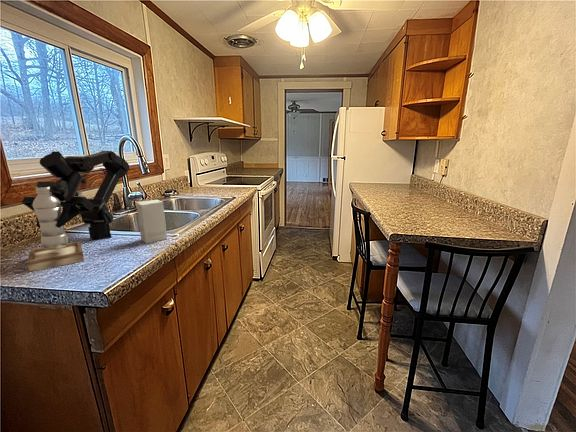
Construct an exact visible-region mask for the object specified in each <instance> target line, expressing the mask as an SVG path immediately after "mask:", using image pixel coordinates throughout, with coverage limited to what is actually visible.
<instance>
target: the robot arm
mask: <svg viewBox="0 0 576 432" xmlns="http://www.w3.org/2000/svg"><path fill="white" fill-rule="evenodd" d="M101 164H102V166H103V167H104V169H105V173H106V174H105V176H104V178H103V180H102V182H101V184H100V185H99V187H98V189H97V191H96V193H95V194H94V197H93V198H87V197H86V196H79V195H80V193H79V192H78V189H79V187H80V186H81V184H84V185H85V184H87V181H86V179H85V177H84V175H82V174H88V173H90V172H92V171H93V170H94V169H95V167H96V166H98V165H99V166H100V165H101ZM39 165H40V166H41V167H43V169H44V170H45V171H46V172H48V173H49V174H51V176H52V177H53V178H56V179H58V180H56V181H37V182H36V187H38V188H43V187H50V192H52V194H53V195H54V196H55V197H57V198H58V199H59V201H60V202H61V208H62V210H61V215H60V218H59V220H58V222H57V227H58V228H60V227H62V226H63V227H64V226H65V224H67V223H68V222H70V221H71V220H72V219H74V218H75V217H77V216H80V217H81V219H82V222H83V223H84V225H87V224H88V225H89V226H88V228H87V229H88V233H89V238H90V239H91V240H92V241H98V240H102V239H111V238H112V237H113V236H112V233H111V227H110V223H112V222H113V221H114V214H112V213H111V212H110V208H109V205H108V203H109V201H110V198H111V197H112V194H113V192H114V191H115V188H116V186H117V184H118V182H119V180H120V179H122V178H124V177H126V175H127V174H128V173H129V170H130V165H129V163H128V162H127V161H126V160H125V159H124V157H121V156H120V155H118V154H116V153H115V152H114V151H112V150H101V151H99V152H95V153H91V154H88V155H84V156H73V155H72V156H71V155H70V156H66V157H64V156H63V155H62V153H61V152H60V151H56V150H55V151H51V153H48V154H46V155H44V156H43V157H41V158H40V160H39ZM36 197H37V195H33V196H32V195H27V196H24V198H23V199H22V201H21V204H22V205H24V206H26V207H27V208H28V209H30V210H31V211H32V212H35V211H34V208H33V201H34V199H35V198H36ZM36 227H37V228H40V224H39V221H38V218H37V217H36Z"/></svg>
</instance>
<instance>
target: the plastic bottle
mask: <svg viewBox="0 0 576 432" xmlns="http://www.w3.org/2000/svg"><path fill="white" fill-rule="evenodd" d="M35 194H37V195H36V196H37V197H36V198H35V199H34V201H33V208H34V211H33V212H34V213H35V215H36V219H37V218H38V221H39V224H40V229H39V231H40V235H41V236H40V243H41V246H42V247H44V248H45V249H48V250H52V249H59V248H62V247H65V246H67V244H68V243H69V236H68V234H67V232H66V230H65V228H64V225H63V226H62V227H60V228H58V227H57V222H58V220H59V218H60V215H61V213H62V207H61V202H60V201H59V199H58V198H57V197H55V196H54V195H53V194H52V192H50V187H43V188H38V187H37V186H35Z"/></svg>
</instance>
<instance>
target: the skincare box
mask: <svg viewBox="0 0 576 432" xmlns="http://www.w3.org/2000/svg"><path fill="white" fill-rule="evenodd" d="M135 204H136V212H137V219H138V227H139V234H140V240H141V241H142V242H144V244H150V243H151V244H152V243H155V242H160V241H164V240H167V239H168V234H167V225H166V219H165V217H166V215H165V209H164V208H165V207H164V201H162V200H159V199H151V200H143V201H136V203H135Z"/></svg>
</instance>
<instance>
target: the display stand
mask: <svg viewBox="0 0 576 432" xmlns="http://www.w3.org/2000/svg"><path fill="white" fill-rule="evenodd" d="M84 261H85V257H84V251H83V248H82V242H81V241H75V242H68V244H67V246H65V247H62V248H59V249H52V250H48V249H45V248H44V247H43V246H42V247H38V248H37V247H36V248H31V249H30V251H29V254H28V257H27V262H26V264H27V268H28V271H29V272H34V271H39V270H45V269H50V268H54V267H61V266H65V265H70V264H75V263H79V262H84Z"/></svg>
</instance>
